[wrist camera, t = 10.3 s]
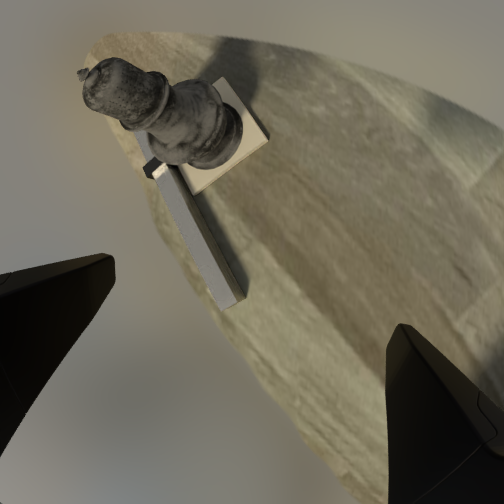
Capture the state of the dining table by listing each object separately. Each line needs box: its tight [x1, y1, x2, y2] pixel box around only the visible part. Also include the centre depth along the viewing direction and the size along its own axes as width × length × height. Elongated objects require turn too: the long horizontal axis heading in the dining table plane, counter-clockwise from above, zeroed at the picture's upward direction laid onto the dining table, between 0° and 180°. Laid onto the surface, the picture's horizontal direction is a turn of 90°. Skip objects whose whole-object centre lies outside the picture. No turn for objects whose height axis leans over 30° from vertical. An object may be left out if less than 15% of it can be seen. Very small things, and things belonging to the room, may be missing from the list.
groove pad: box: [177, 76, 269, 196], centre depth 22 cm, size 7×7×1 cm
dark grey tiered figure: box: [77, 57, 243, 170], centre depth 16 cm, size 6×6×12 cm
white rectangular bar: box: [134, 130, 246, 311], centre depth 22 cm, size 16×2×2 cm, turn 31°
